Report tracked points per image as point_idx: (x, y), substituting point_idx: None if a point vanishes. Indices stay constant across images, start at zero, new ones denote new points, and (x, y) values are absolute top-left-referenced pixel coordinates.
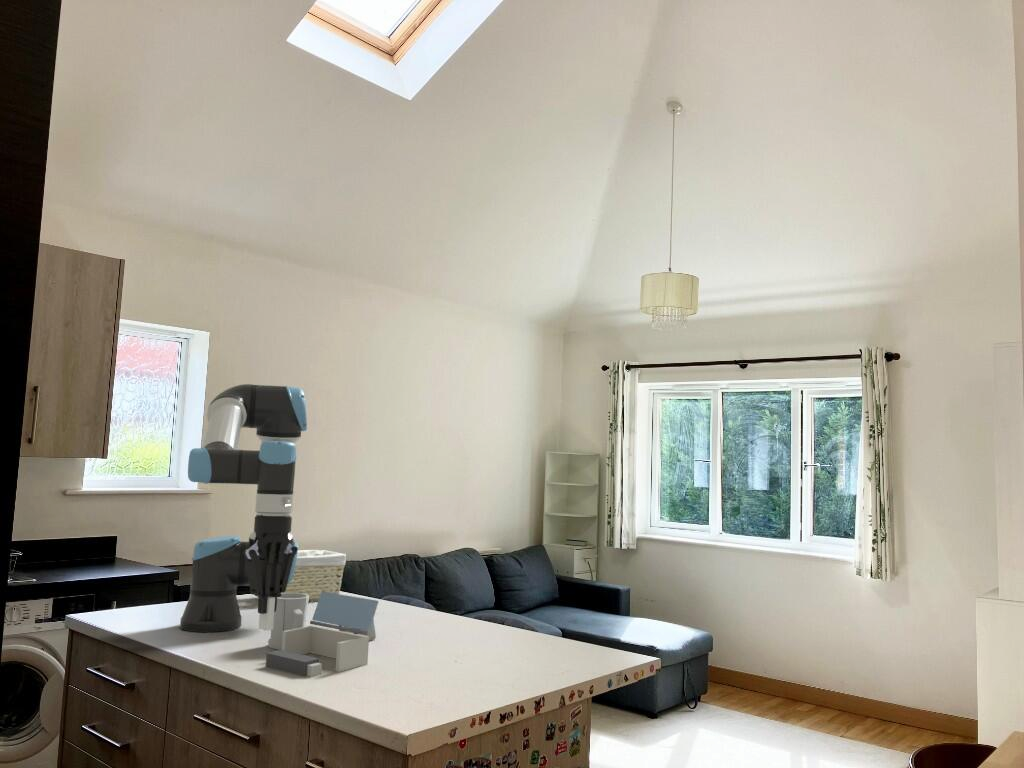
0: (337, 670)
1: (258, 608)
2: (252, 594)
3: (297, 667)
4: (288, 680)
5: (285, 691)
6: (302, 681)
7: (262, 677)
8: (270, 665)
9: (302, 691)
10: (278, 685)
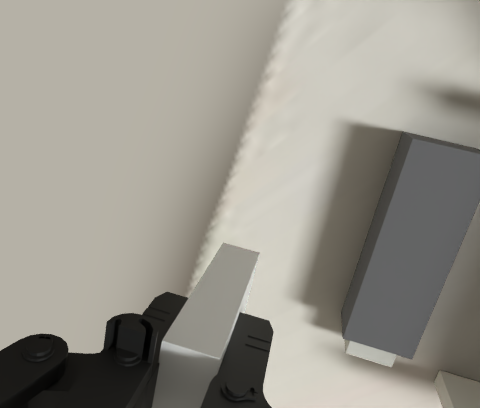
0: (437, 379)
1: (149, 310)
2: (49, 339)
3: (352, 293)
4: (277, 291)
5: None
6: (287, 330)
7: (269, 205)
8: (394, 159)
9: None
10: None
